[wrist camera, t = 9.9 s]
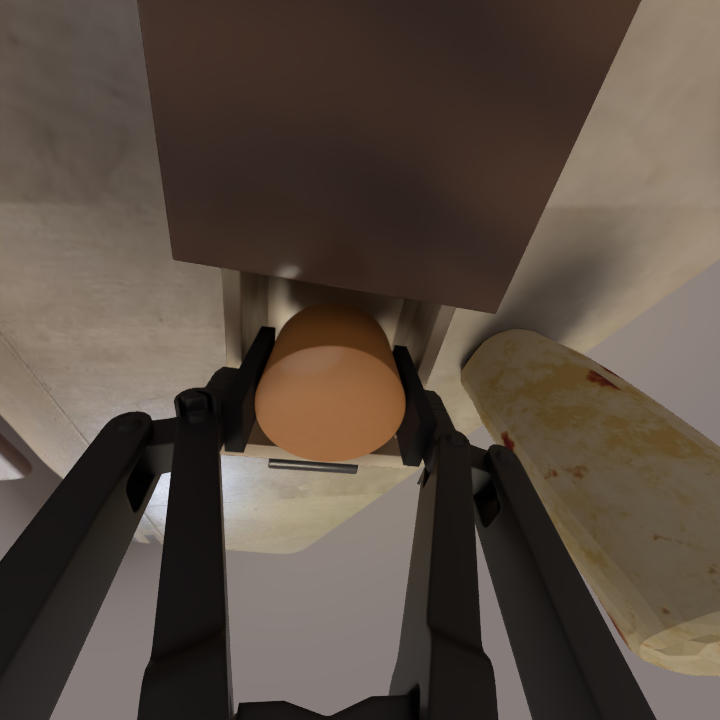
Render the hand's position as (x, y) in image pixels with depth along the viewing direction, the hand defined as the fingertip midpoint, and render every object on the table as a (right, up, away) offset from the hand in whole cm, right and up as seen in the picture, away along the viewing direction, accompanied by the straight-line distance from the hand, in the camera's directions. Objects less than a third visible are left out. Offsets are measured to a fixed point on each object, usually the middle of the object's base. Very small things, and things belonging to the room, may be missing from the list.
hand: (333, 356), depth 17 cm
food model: (+15, 0, +9) cm, 17 cm away
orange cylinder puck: (0, 0, 0) cm, 0 cm away
